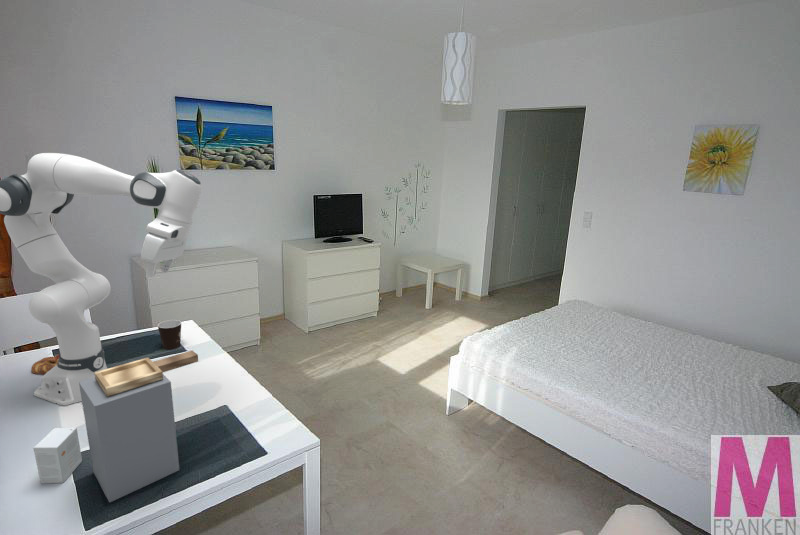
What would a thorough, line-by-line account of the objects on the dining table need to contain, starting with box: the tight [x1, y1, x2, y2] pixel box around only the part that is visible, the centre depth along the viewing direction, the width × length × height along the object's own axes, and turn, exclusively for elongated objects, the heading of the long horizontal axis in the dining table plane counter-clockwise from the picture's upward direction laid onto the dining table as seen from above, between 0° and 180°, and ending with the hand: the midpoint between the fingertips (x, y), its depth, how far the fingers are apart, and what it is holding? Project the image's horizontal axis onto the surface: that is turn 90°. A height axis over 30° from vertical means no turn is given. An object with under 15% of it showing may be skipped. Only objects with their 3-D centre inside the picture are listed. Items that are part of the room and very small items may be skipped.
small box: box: [33, 427, 83, 484], centre depth 113 cm, size 8×6×10 cm
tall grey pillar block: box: [79, 373, 180, 503], centre depth 112 cm, size 16×14×26 cm
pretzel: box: [30, 354, 59, 376], centre depth 163 cm, size 12×11×4 cm
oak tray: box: [94, 350, 199, 397], centre depth 113 cm, size 22×10×2 cm, turn 137°
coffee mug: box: [157, 319, 182, 351], centre depth 184 cm, size 12×9×10 cm
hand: (157, 273), depth 127 cm, fingers open, 8 cm apart
